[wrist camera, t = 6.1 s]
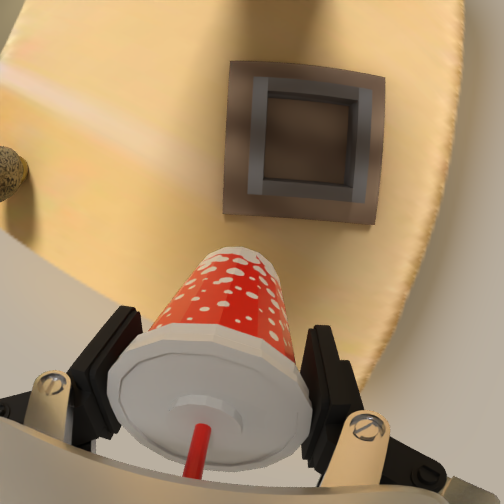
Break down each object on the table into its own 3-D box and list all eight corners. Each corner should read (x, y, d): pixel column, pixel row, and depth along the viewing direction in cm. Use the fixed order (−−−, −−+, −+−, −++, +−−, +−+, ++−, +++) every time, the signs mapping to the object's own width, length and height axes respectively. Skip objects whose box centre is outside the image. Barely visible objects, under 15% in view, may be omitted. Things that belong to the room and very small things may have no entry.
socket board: (231, 63, 26) (225, 49, 22) (381, 79, 25) (398, 69, 21) (224, 211, 31) (216, 221, 26) (371, 222, 30) (386, 234, 26)
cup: (15, 207, 32) (-26, 222, 24) (-1, 160, 30) (-43, 168, 22) (47, 180, 30) (2, 191, 23) (29, 130, 28) (-15, 131, 21)
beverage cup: (183, 222, 15) (-30, 466, 2) (305, 242, 15) (389, 564, 2) (177, 325, 17) (77, 555, 4) (282, 343, 17) (284, 598, 4)
